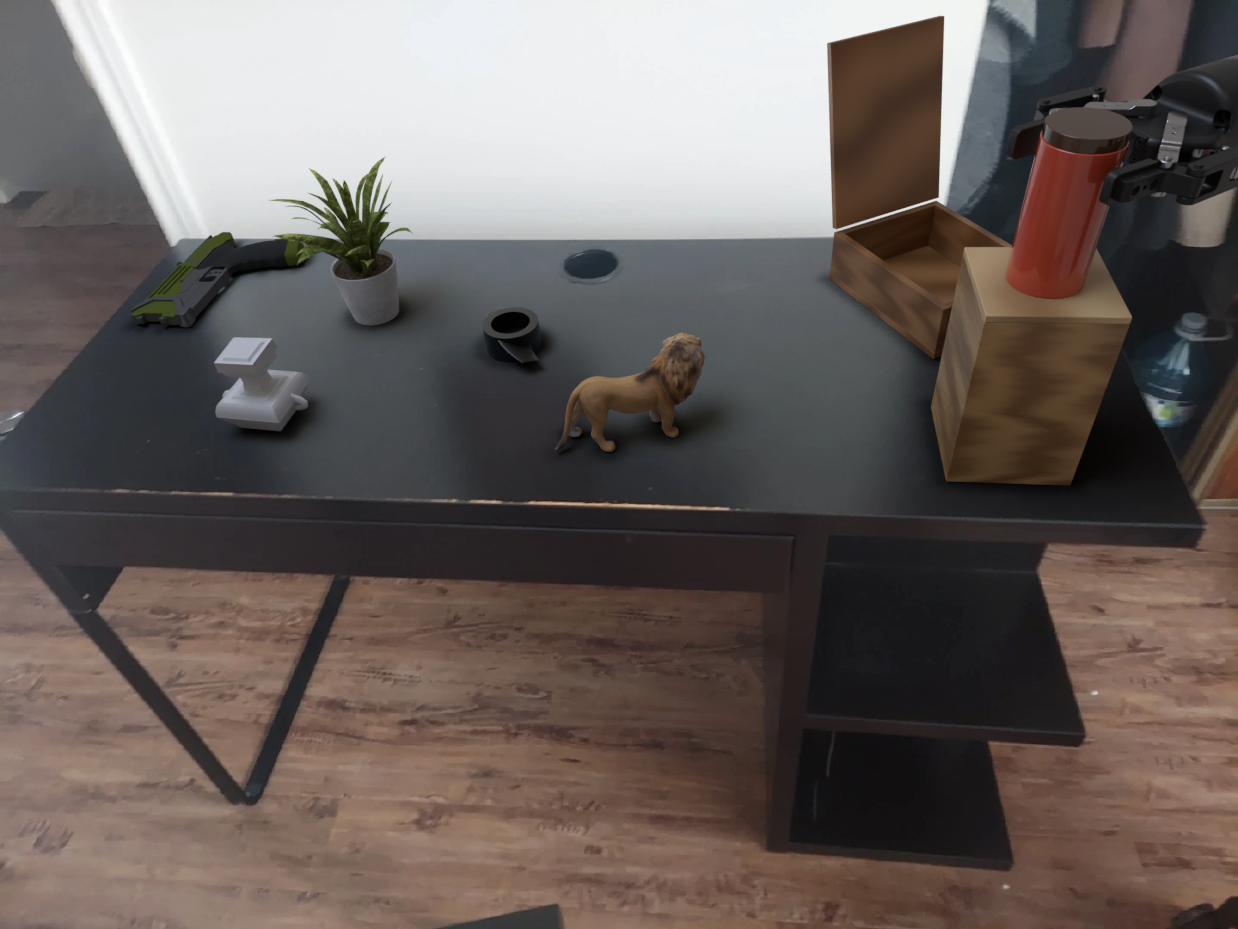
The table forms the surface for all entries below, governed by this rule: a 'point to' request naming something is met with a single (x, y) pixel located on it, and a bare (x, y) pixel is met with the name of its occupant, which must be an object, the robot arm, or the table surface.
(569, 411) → the lion figurine
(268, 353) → the stamp
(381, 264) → the house plant
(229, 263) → the gun
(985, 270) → the cork trivet
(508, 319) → the duct tape
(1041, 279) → the spice jar
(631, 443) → the table surface
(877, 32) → the box lid
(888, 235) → the wooden box
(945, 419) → the oak stand
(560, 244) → the table surface
